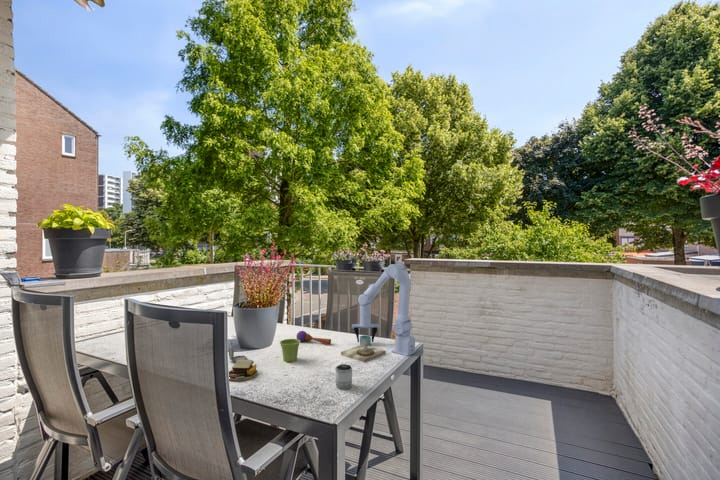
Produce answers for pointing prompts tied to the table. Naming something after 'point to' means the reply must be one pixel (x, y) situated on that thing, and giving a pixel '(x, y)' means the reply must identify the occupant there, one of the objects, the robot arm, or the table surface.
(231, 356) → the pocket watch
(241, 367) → the toy sandwich meal
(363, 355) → the gear board
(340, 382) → the camera lens
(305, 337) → the kendama
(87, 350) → the table surface
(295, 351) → the plant pot
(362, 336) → the teal faceted ring
